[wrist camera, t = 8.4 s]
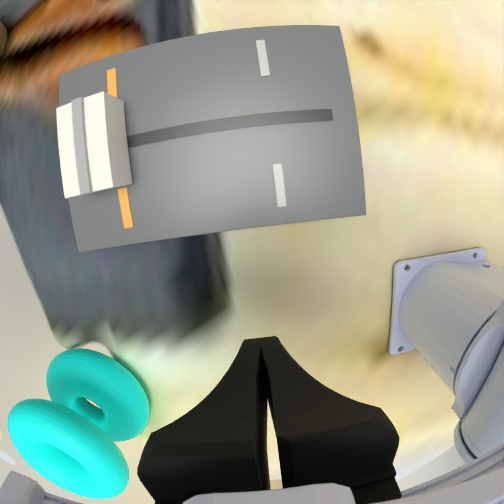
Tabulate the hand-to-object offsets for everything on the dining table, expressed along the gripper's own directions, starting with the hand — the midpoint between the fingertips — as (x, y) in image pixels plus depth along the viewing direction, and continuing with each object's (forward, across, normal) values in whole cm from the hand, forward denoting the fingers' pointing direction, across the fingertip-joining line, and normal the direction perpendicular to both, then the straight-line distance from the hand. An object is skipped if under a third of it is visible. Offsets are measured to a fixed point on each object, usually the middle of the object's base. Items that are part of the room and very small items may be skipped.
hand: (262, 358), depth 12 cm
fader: (+7, +8, -10) cm, 14 cm away
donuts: (+10, +15, +9) cm, 20 cm away
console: (+9, +2, -10) cm, 14 cm away
